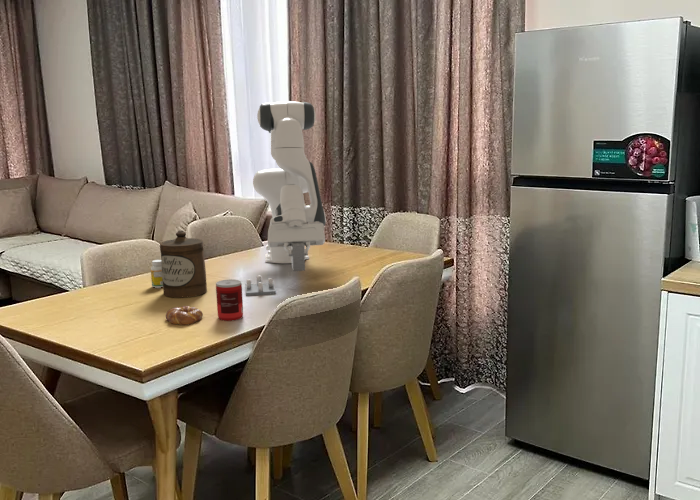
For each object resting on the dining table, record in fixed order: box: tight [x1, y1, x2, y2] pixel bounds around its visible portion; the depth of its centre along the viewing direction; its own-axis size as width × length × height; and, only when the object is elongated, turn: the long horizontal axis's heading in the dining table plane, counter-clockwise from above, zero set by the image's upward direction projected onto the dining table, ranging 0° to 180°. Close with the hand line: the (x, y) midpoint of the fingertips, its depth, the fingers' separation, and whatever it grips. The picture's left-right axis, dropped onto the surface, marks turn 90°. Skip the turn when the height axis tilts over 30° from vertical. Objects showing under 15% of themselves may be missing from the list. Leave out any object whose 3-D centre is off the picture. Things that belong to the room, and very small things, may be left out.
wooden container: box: [159, 230, 208, 299], centre depth 237 cm, size 15×15×22 cm
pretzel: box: [165, 305, 204, 326], centre depth 206 cm, size 12×11×4 cm
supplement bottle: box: [150, 259, 163, 289], centre depth 248 cm, size 5×5×10 cm
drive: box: [291, 242, 306, 272], centre depth 237 cm, size 7×4×9 cm, turn 9°
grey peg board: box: [244, 275, 277, 297], centre depth 239 cm, size 13×10×4 cm
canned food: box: [215, 278, 244, 322], centre depth 206 cm, size 8×8×11 cm
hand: (297, 255), depth 236 cm, fingers closed on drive, 4 cm apart
